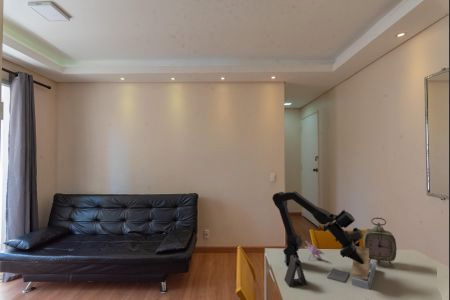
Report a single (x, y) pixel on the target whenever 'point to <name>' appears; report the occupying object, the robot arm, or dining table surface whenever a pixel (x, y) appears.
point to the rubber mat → (338, 275)
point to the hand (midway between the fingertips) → (364, 261)
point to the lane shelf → (370, 278)
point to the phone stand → (292, 268)
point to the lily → (313, 250)
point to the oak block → (359, 268)
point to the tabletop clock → (380, 243)
